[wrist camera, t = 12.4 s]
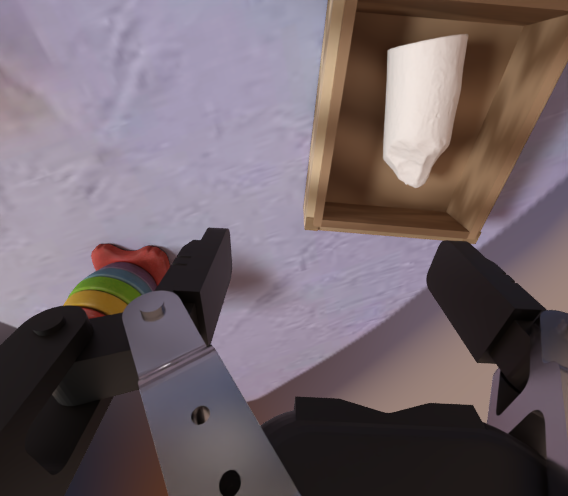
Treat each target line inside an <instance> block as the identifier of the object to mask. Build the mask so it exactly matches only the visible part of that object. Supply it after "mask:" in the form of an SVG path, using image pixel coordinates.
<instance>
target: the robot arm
mask: <svg viewBox="0 0 568 496" xmlns="http://www.w3.org/2000/svg"><path fill="white" fill-rule="evenodd" d="M231 273H232V256H231V242H230V232H229V229H226V228H208V229H207V230H206V232H205V234H204V235H203V237H202V239H201V240H192V241H191V242H189V243H188V244H187V245H185V246H184V247H183V248H182V249H181V251H180V252H179V254H178V255H177V258H175V260H174V261H173V263H172V265H171V266H170V268H169V269H168V271H167V272H166V274H165V275H164V277H163V278H162V280H161V282H160V283H159V285H158V286H157V288H156V289H155V291H154V292H149V293H146V294H143V295H141V296H139V297H137V298H136V299H134V300H133V301H131V302H130V303H129V304H128V305H127V306H126V308H125V309H124V311H123V312H122V313H117V314H112V315H106V316H101V317H95V318H90V319H89V318H88V316H87V314H86V312H85V311H84V309H82V308H81V307H78V306H73V305H65V306H59V307H55V308H51V309H48V310H45V311H43V312H41V313H39V314H37V315H35V316H33V317H31V318H30V319H28V320H27V321H26V322H24V323H23V324H22V325H21V326H20V327H19V328H18V329H17V330H16V331H15V332H14V333H13V334H12V335H11V336H10V337H9V338H7V340H5V341H4V342H3V344H1V345H0V496H64V495H65V493H66V491H67V489H68V487H69V485H70V483H71V481H72V479H73V477H74V475H75V473H76V471H77V469H78V467H79V465H80V463H81V461H82V459H83V457H84V455H85V453H86V451H87V449H88V447H89V445H90V443H91V441H92V439H93V437H94V435H95V433H96V430H97V429H98V427H99V425H100V423H101V421H102V419H103V417H104V415H105V412H106V411H107V409H108V406H109V405H110V403H111V401H112V399H113V397H114V396H116V395H120V394H123V393H127V392H131V391H134V390H139V389H140V393H141V396H142V400H143V404H144V408H145V411H146V415H147V419H148V422H149V426H150V429H151V433H152V437H153V440H154V444H155V448H156V451H157V455H158V459H159V462H160V466H161V469H162V473H163V476H164V480H165V484H166V488H167V491H168V495H169V496H568V313H565V312H561V311H556V310H546V309H545V308H544V307H543V306H542V305H541V304H540V303H539V302H537V301H536V300H535V299H534V298H533V297H532V296H531V295H530V294H529V293H528V292H526V291H525V290H524V289H523V288H522V287H521V286H520V285H519V284H518V283H515V281H514V280H513V279H512V278H511V277H510V276H509V275H506V273H505V272H504V271H503V270H502V269H501V268H500V267H498V265H496V264H495V263H494V262H492V261H490V260H488V259H487V258H485V257H484V256H483V255H482V254H481V253H480V252H479V251H478V250H477V249H475V248H474V247H473V246H472V245H471V244H470V243H469V242H467V241H453V240H444V241H442V242H441V243H440V245H439V247H438V249H437V252H436V254H435V256H434V259H433V261H432V264H431V266H430V268H429V271H428V273H427V286H428V289H429V290H430V292H431V293H432V295H433V297H434V298H435V300H436V301H437V303H438V304H439V306H440V307H441V309H442V310H443V312H444V313H445V315H446V316H447V318H448V319H449V321H450V322H451V324H452V325H453V327H454V328H455V330H456V331H457V333H458V334H459V336H460V338H461V339H462V341H463V342H464V344H465V345H466V347H467V348H468V350H469V351H470V353H471V354H472V356H473V357H474V359H475V360H476V362H477V363H492V364H497V366H498V367H499V368H498V369H497V370H496V371H495V373H494V375H493V380H492V388H491V396H490V404H489V412H488V420H487V424H486V423H484V422H482V421H481V419H480V417H479V416H478V414H477V412H476V410H475V408H474V406H473V405H460V404H439V403H428V404H424V405H420V406H416V407H412V408H409V409H404V410H400V411H397V412H393V413H384V412H381V411H377V410H374V409H371V408H368V407H364V406H361V405H358V404H355V403H351V402H348V401H345V400H342V399H334V398H313V397H295V404H294V411H290V412H286V413H283V414H281V415H278V416H276V417H274V418H272V419H270V420H269V421H267V422H265V423H264V424H262V425H261V426H260V425H259V423H258V421H257V420H256V418H255V416H254V414H253V413H252V411H251V409H250V408H249V406H248V404H247V402H246V401H245V399H244V397H243V396H242V394H241V392H240V390H239V389H238V387H237V385H236V384H235V382H234V380H233V378H232V377H231V375H230V373H229V372H228V370H227V368H226V366H225V365H224V363H223V361H222V360H221V358H220V356H219V354H218V353H217V351H216V350H215V348H214V347H213V346H212V345H210V344H211V341H212V338H213V334H214V331H215V328H216V325H217V321H218V318H219V315H220V312H221V308H222V305H223V302H224V298H225V295H226V292H227V289H228V285H229V282H230V279H231Z"/></svg>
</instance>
